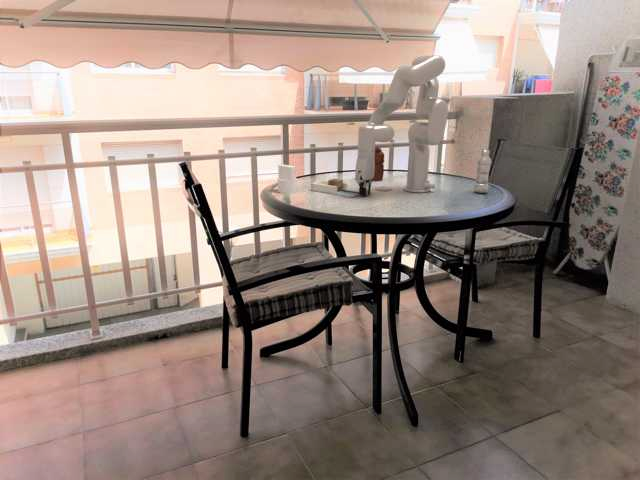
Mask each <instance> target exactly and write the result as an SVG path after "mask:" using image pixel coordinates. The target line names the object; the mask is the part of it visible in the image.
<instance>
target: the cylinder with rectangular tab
mask: <svg viewBox="0 0 640 480" xmlns="http://www.w3.org/2000/svg"><path fill="white" fill-rule="evenodd" d="M296 172H297V169H296V166H293V165H289V164H279V165H278V178H277V193H279V192H280V194H285V193H286V194H294V193H297V191H298V178H297V176H296V174H297V173H296ZM286 194H285V195H286Z"/></svg>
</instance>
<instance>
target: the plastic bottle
mask: <svg viewBox="0 0 640 480" xmlns="http://www.w3.org/2000/svg"><path fill="white" fill-rule="evenodd" d="M490 152H491V151H490V149H481V152H480V156H479V157H478V158H477V161H476V169H477V170H476V178H475V182H474V185H473V191H474V192H475V193H477V192H478V193H477V194H486V193H488V191H489V173H490V169H491V166H492V158H491V157H490Z"/></svg>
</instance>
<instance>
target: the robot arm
mask: <svg viewBox="0 0 640 480" xmlns="http://www.w3.org/2000/svg"><path fill="white" fill-rule="evenodd" d="M445 69H446V60H445V59H444V57H443V56H441V55H438V54H433V55H419V56H416V57H415V58H413V60H412V62H411V65H403V66H400V67H398V68H397V69H396V71H395V73H394V75H393V78H392V80H391V82H390V85H389V87H388V90H387V93H386V95H385V97H384V99H383V100H382V101H381V102H380V103H379V105H378V106H377V107H376V108H375V109H374V111H373V112H372V114H371V115H370V118H369V121H368V123H367V124H362V125H360V126H359V127H358V137H357V158H356V163H355V171H354V179H355V180H356V183H357V184H358V187H359V189H358V191H359V195H358V196H361V197H367V196H366V187H365V185H366V182H368V183H369V189H368V196H370V195H371V189H372V188H371V186H372V182H373V181H372V180H373V178H374V173H375V161H374V158H375V146H376V142H377V143H378V142H379V143H387V142H388V143H389V142H391V141H392V140H393V138H394V137H395V130H394V128H393V127H392V126H390V125H389V124H384V122H385V121H386V119H387V118H388V117H389V116H390V115H391V114H392V113H394V112H396V111H397V110H399V109H400V108H402V107H403V106H404V104H405V102H406V99H407V96H408V94H409V92H410V89H411V87H412V88H415V87H419V88H418V89H419V90H418V91H419V92H418V94H417V95H418V96H417V101H416V107H415V115H416V116H417V118H419V119H421V120H425V122H422V121H418V122H417V121H416V122H414V123H412V124H411V125H410V126H409V127H408V132H407V139H408V162H407V175H406V185H404V186H403V188H402V189H403V191H406V192H409V193H428V192H429V191H431V189H433V190H435V189H436V185H435V183H430V180H428V177H429V166H430V165H429V163H430V146H437V145H439V143H441V142H442V140H443V138H444V134H445V130H446V125H447V121H448V120H447V119H448V116H449V105H448V103H447V102H446V101H445V99H442V98H438V94H439V88H440V85H439V83H440V82H439V80H438V77H439V76H441V74H443V72H444V70H445ZM426 120H427V121H428V122H426ZM361 179H362V180H361Z"/></svg>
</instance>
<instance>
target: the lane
mask: <svg viewBox="0 0 640 480" xmlns="http://www.w3.org/2000/svg"><path fill="white" fill-rule="evenodd" d="M348 184H349V183H347V182H343V190H348ZM310 190H311V191H312V192H319V193H325V194H330V195H336V194H338V193H341V192H343V191H339V192H337V186H331V185H328V180H327V179H321V180H318V181H314V182H311V183H310Z"/></svg>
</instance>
